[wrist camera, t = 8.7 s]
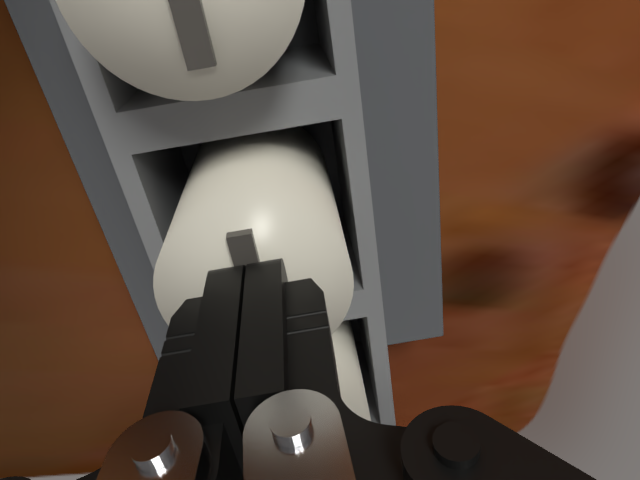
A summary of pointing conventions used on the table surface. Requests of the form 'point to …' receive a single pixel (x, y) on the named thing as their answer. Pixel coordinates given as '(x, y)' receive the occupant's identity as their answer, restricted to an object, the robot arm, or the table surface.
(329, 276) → the knob mid
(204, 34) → the knob
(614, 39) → the table surface
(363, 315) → the grey compartment box
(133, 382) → the table surface
